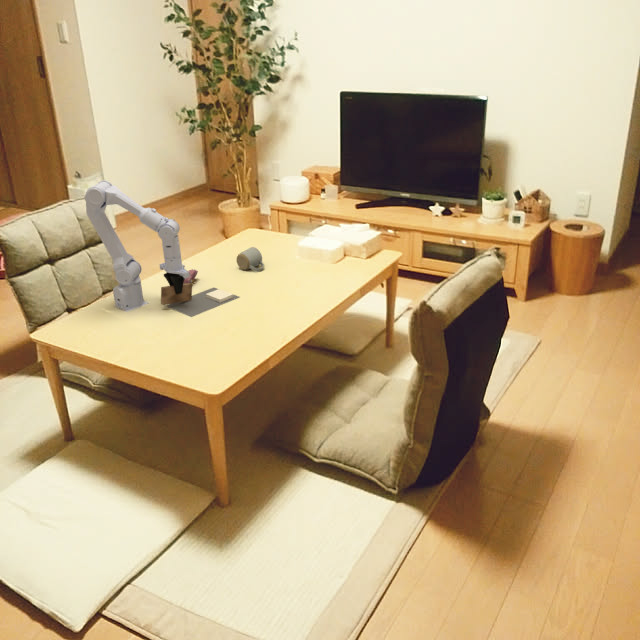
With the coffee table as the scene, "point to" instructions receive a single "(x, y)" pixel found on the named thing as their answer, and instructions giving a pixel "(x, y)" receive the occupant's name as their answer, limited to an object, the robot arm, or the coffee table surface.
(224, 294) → the tile
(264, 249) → the coffee table surface
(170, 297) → the brown wooden block
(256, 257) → the ceramic mug
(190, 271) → the pink irregular lump
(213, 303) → the mat
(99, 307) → the coffee table surface
